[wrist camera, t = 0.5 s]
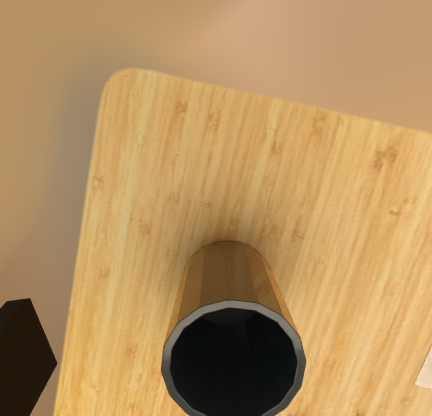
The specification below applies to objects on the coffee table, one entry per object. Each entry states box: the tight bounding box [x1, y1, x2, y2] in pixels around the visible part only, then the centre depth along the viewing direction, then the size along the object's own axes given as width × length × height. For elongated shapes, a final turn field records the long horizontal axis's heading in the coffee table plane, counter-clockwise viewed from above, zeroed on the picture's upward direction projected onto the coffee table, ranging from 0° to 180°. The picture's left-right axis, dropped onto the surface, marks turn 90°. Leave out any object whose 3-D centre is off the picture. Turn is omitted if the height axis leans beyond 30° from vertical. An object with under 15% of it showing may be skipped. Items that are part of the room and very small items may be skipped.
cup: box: [161, 241, 306, 416], centre depth 24 cm, size 8×8×11 cm
